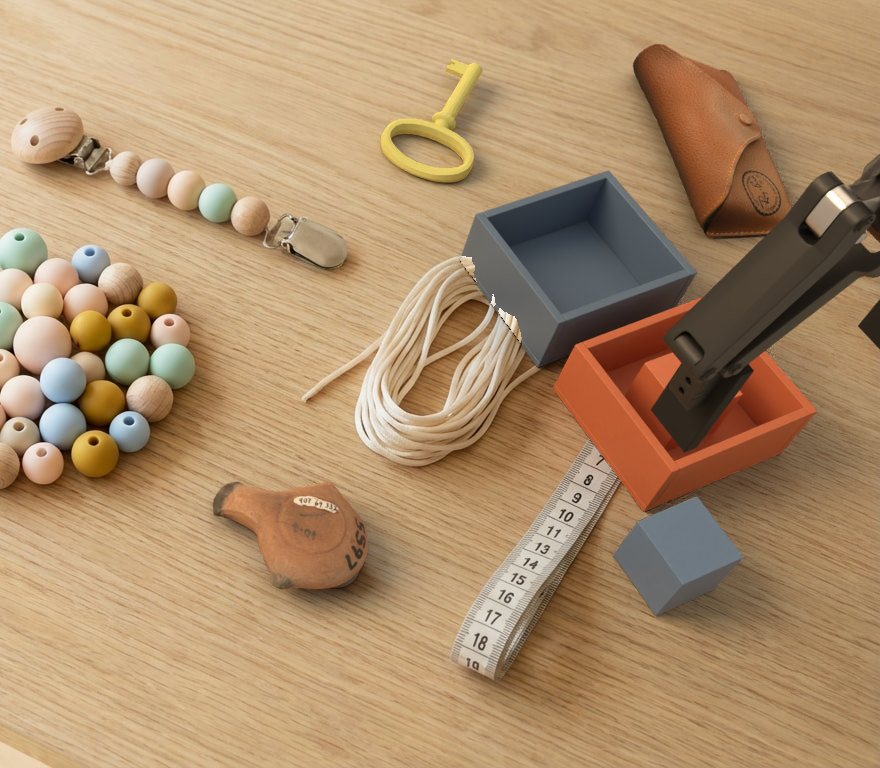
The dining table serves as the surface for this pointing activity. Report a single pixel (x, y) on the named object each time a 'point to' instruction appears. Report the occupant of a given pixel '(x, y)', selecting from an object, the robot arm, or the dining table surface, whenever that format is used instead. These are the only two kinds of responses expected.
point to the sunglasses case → (713, 144)
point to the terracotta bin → (634, 445)
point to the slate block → (677, 555)
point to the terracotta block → (649, 390)
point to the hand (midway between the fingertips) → (779, 385)
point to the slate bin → (575, 264)
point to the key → (437, 131)
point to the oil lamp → (299, 532)
